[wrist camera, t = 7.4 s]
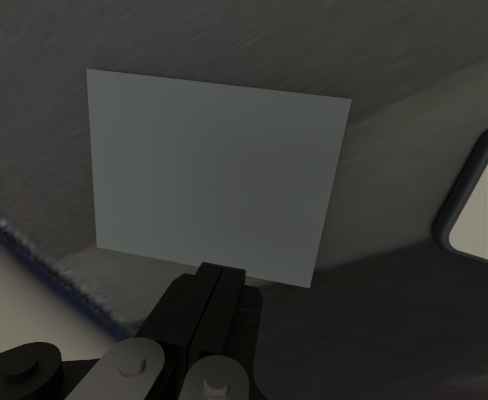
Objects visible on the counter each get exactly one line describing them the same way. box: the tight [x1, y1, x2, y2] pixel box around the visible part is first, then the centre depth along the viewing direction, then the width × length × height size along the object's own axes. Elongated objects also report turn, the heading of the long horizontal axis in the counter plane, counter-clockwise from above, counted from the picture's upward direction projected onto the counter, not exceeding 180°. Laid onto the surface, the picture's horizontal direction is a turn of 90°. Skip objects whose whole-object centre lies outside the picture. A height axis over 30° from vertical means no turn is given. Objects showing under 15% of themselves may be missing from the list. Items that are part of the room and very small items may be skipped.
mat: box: [86, 69, 352, 288], centre depth 22 cm, size 18×14×1 cm
